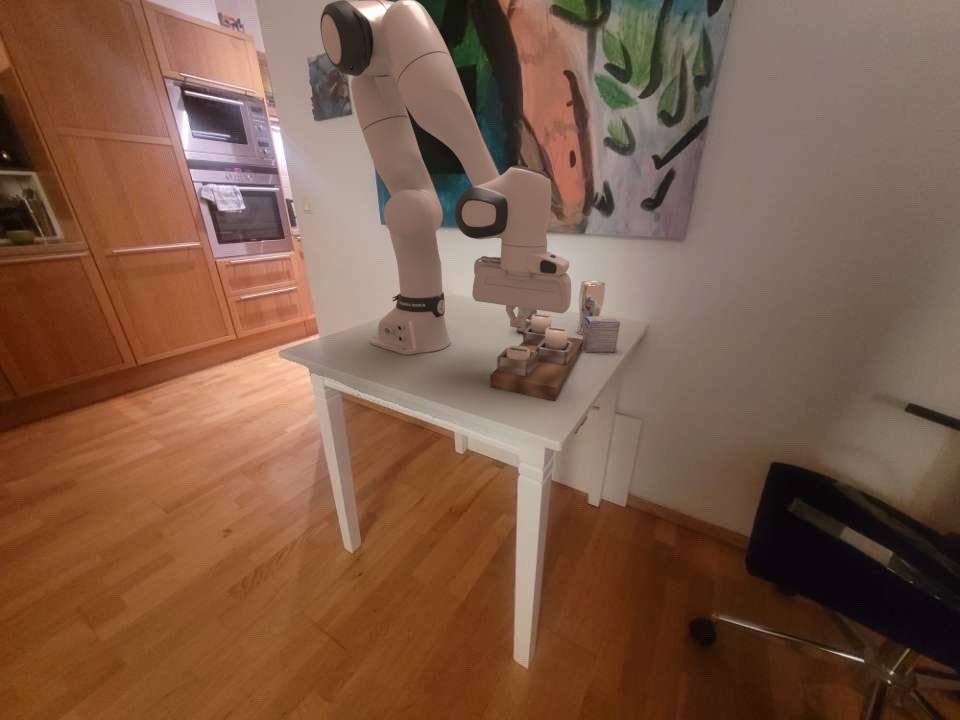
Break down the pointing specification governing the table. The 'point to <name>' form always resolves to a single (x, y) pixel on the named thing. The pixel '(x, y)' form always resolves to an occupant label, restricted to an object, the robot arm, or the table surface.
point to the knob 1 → (518, 353)
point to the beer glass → (590, 301)
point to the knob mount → (536, 368)
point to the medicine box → (600, 334)
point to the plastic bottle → (528, 320)
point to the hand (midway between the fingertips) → (517, 326)
